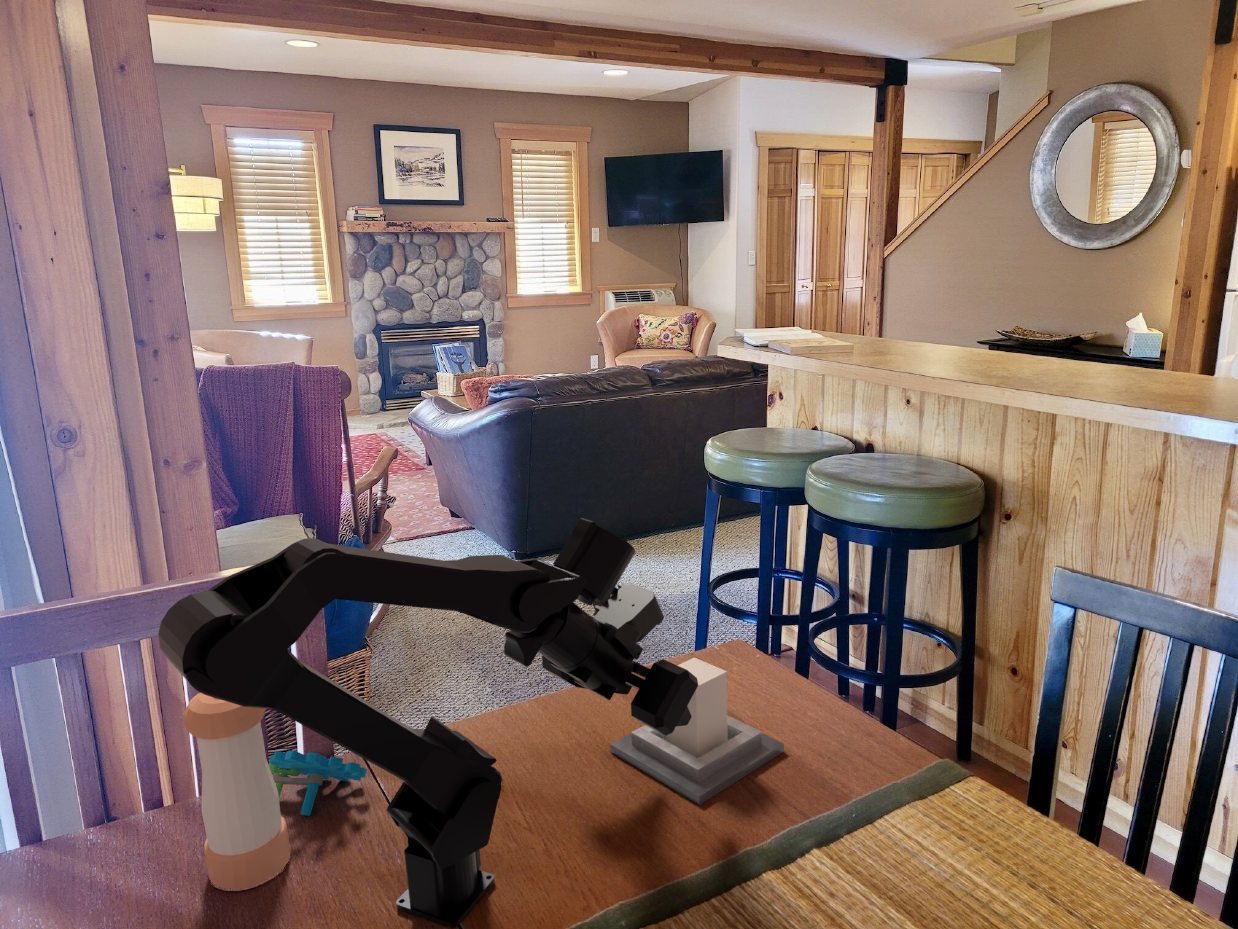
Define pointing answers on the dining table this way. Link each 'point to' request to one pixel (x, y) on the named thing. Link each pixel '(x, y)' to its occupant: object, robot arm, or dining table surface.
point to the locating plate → (698, 759)
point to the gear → (311, 772)
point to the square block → (704, 711)
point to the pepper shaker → (237, 794)
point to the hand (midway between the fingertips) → (657, 704)
